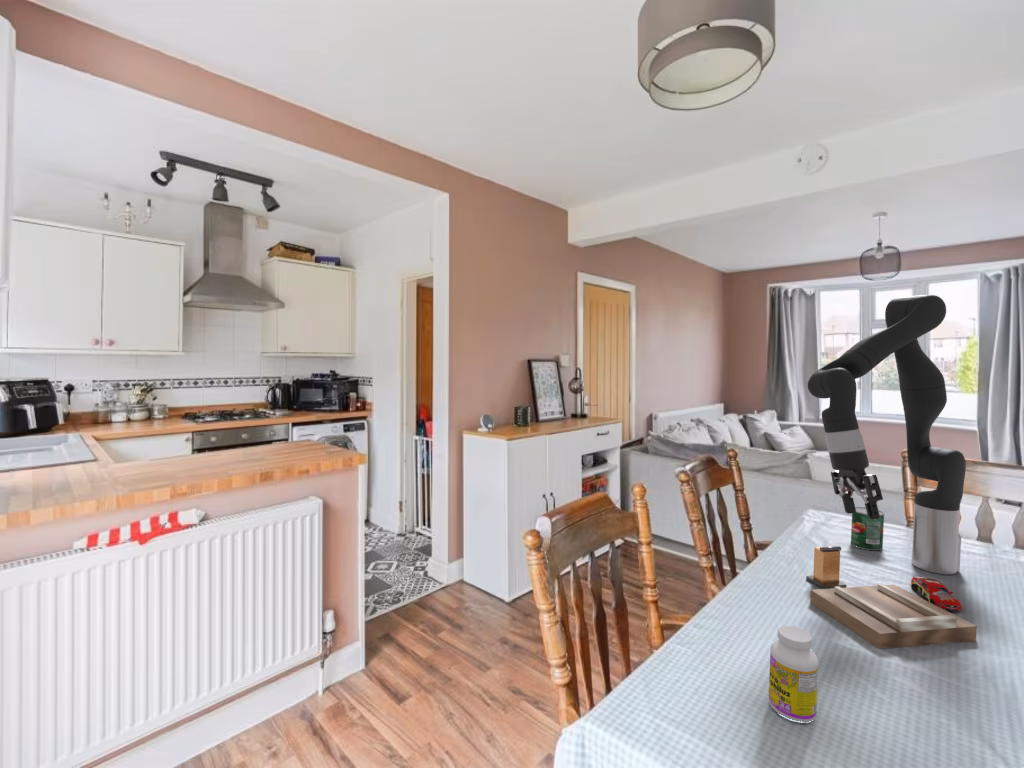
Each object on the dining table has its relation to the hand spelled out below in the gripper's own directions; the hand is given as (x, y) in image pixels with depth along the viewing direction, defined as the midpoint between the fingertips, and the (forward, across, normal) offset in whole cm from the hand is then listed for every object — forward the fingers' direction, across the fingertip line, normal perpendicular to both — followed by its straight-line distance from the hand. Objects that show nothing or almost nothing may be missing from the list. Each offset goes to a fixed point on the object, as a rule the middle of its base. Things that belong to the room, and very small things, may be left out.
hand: (862, 515), depth 114 cm
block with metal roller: (+17, +7, +8) cm, 20 cm away
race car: (+22, +2, -13) cm, 26 cm away
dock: (+20, -9, +5) cm, 23 cm away
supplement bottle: (+19, -38, +40) cm, 59 cm away
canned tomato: (+18, +34, -19) cm, 43 cm away
